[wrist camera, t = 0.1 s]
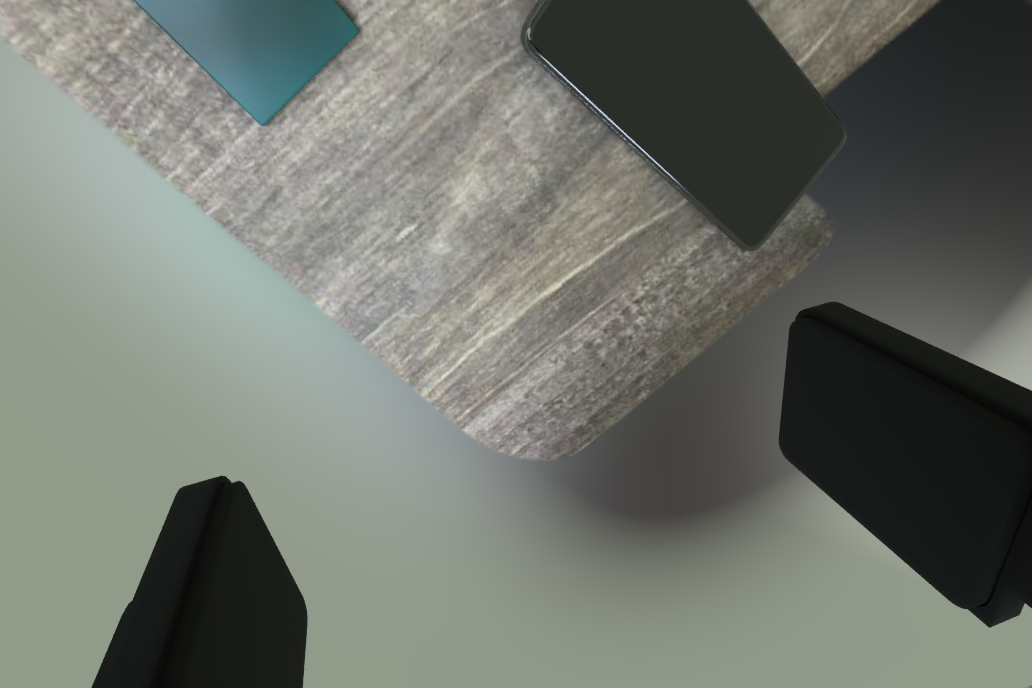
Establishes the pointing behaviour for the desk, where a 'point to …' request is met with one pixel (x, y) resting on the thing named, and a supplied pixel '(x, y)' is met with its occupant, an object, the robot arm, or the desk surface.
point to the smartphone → (695, 100)
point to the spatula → (256, 44)
